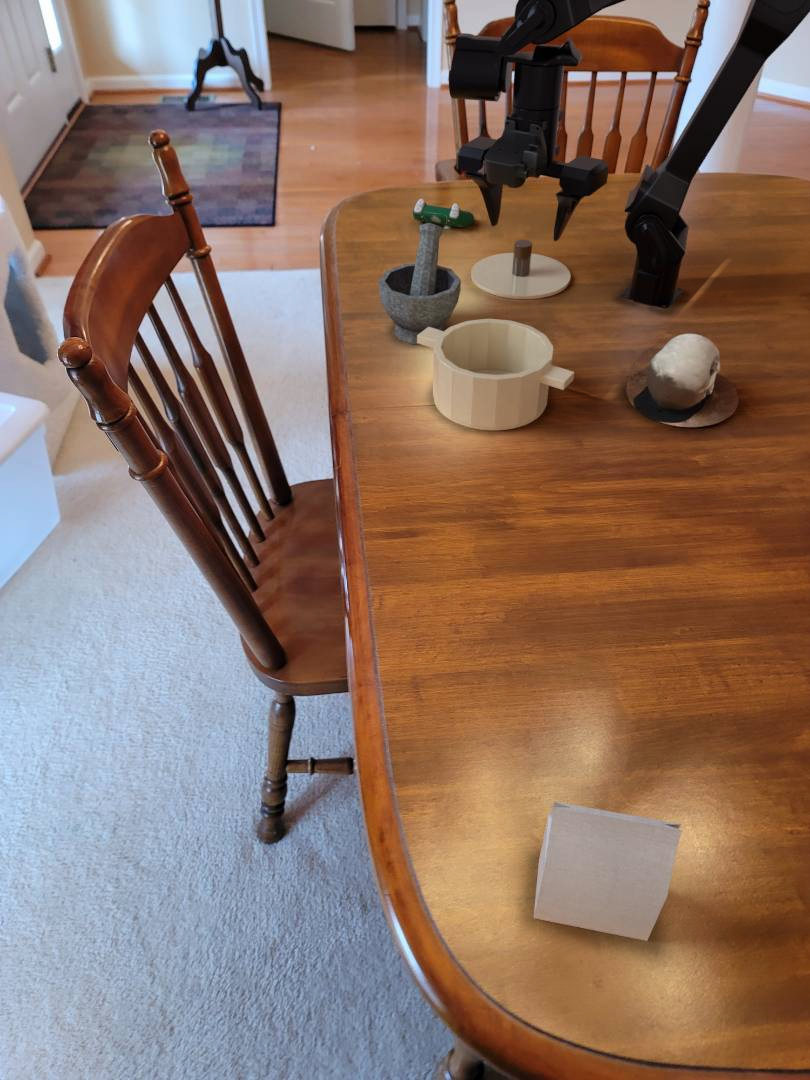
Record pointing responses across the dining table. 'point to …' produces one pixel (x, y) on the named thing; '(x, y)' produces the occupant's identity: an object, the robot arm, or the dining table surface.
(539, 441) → the dining table surface
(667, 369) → the skull
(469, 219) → the green toy car
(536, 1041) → the dining table surface
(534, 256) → the lid
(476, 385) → the pot
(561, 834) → the white rectangular box
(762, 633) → the dining table surface
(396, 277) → the mortar and pestle
